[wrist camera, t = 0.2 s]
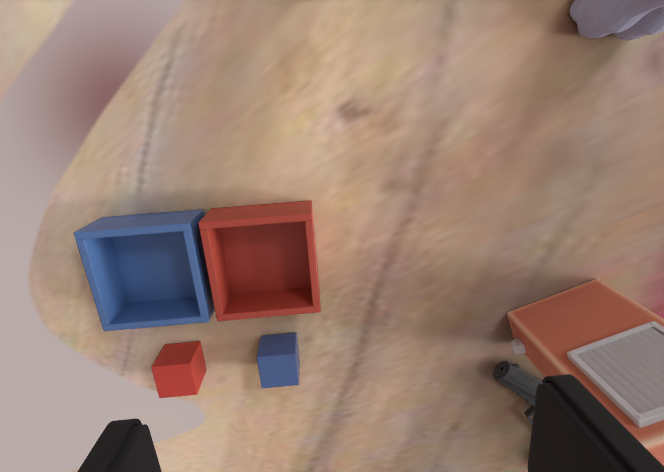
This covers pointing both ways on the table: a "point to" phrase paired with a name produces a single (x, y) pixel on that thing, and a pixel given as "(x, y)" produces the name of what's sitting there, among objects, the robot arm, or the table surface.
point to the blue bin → (147, 269)
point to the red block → (179, 369)
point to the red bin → (261, 260)
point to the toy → (618, 18)
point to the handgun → (518, 383)
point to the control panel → (601, 352)
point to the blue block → (278, 360)
